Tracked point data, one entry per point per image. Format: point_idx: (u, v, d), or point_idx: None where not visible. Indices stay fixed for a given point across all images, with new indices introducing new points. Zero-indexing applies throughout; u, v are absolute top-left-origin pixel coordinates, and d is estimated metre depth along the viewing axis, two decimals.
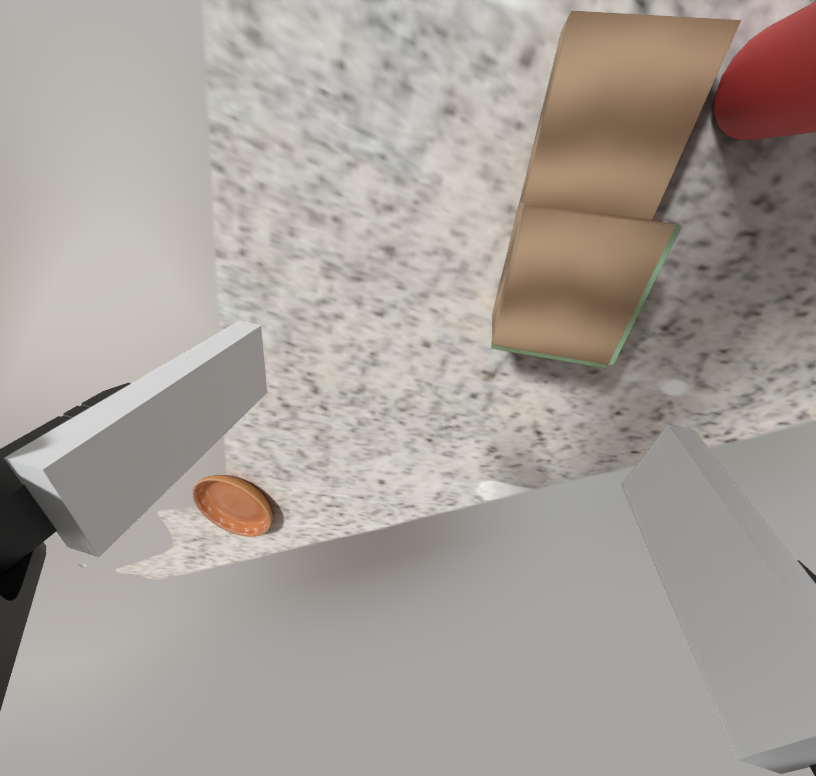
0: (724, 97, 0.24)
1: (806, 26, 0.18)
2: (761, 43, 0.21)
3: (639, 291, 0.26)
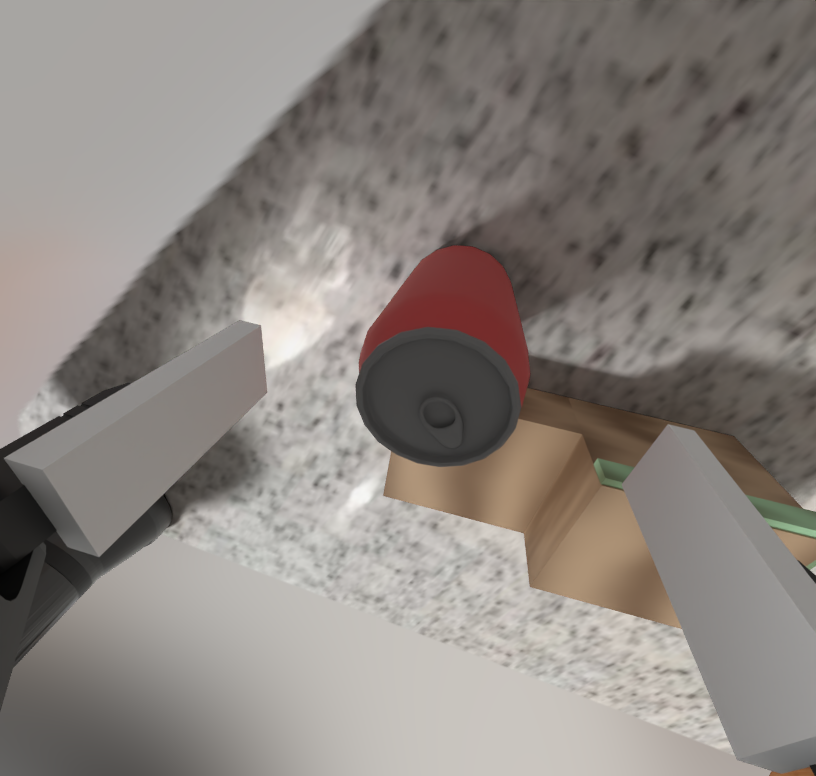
0: None
1: None
2: None
3: None
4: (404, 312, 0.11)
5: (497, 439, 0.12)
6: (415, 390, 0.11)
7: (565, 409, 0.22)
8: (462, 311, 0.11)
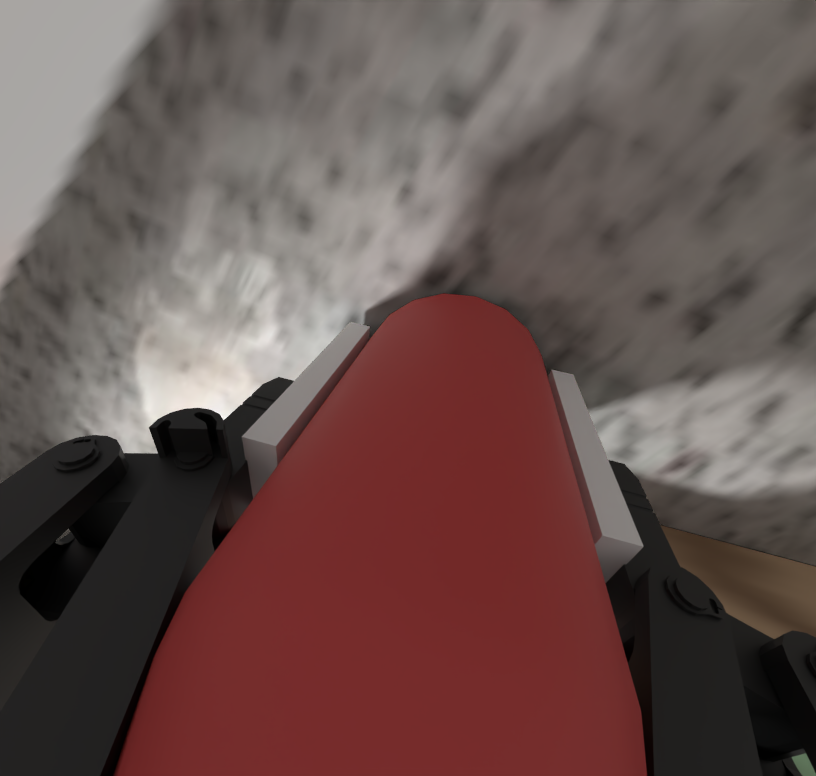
0: None
1: None
2: None
3: None
4: (215, 675, 0.03)
5: None
6: None
7: None
8: (423, 729, 0.03)
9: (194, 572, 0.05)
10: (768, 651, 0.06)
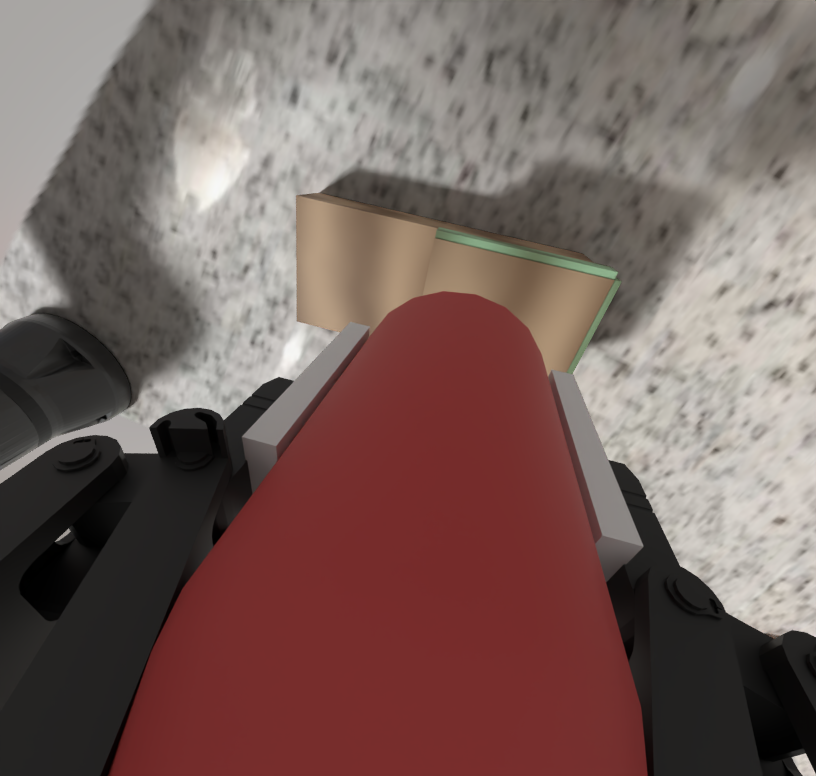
0: None
1: None
2: None
3: (506, 260, 0.21)
4: (212, 670, 0.03)
5: None
6: None
7: (438, 223, 0.26)
8: (422, 727, 0.03)
9: None
10: (769, 651, 0.05)
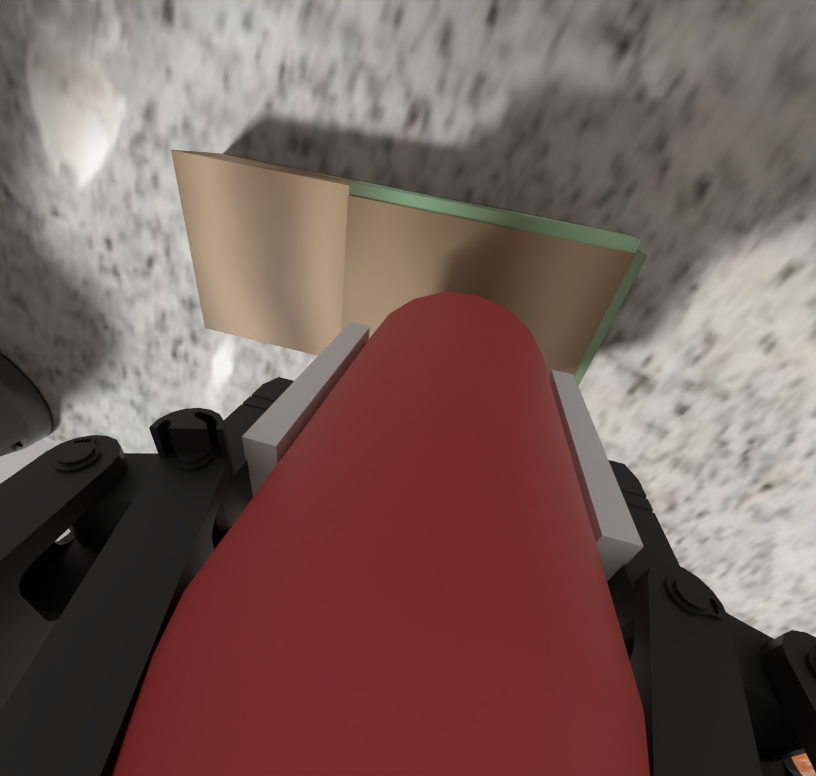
0: None
1: None
2: None
3: (461, 226, 0.13)
4: (215, 674, 0.03)
5: None
6: None
7: None
8: (425, 729, 0.03)
9: (194, 572, 0.05)
10: (768, 651, 0.06)
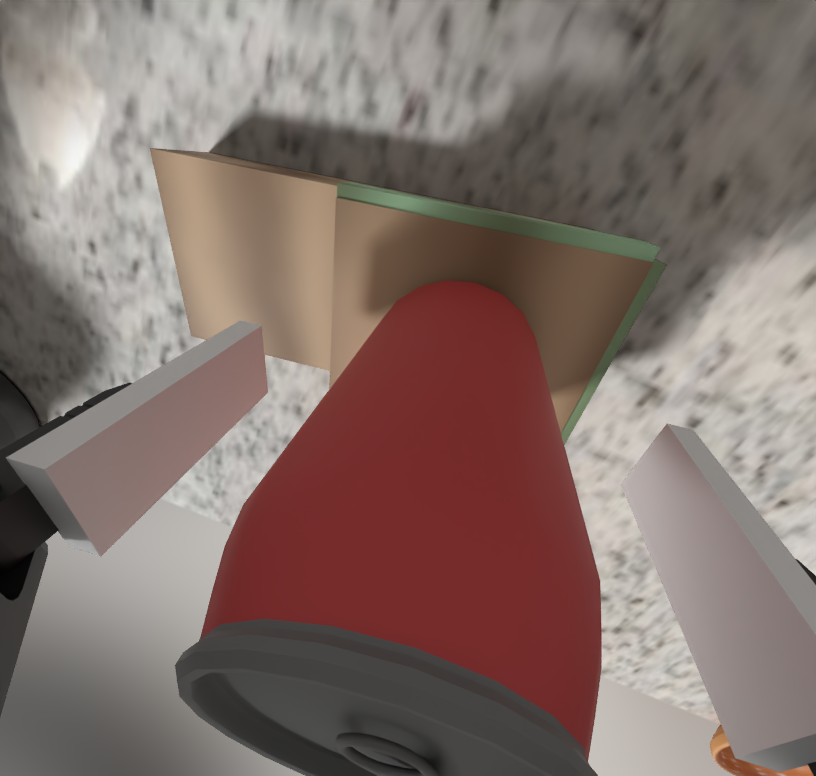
0: None
1: None
2: None
3: (461, 232, 0.12)
4: (289, 529, 0.04)
5: None
6: (324, 705, 0.05)
7: None
8: (439, 550, 0.04)
9: None
10: None
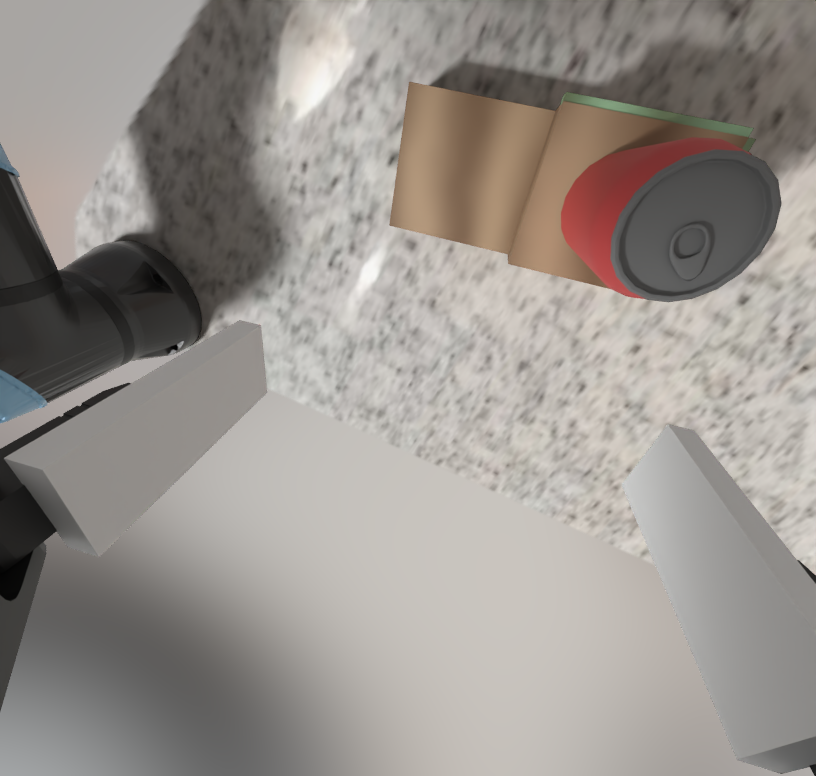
0: None
1: None
2: None
3: (636, 121, 0.21)
4: (673, 150, 0.13)
5: (738, 265, 0.14)
6: (672, 220, 0.14)
7: None
8: (731, 145, 0.13)
9: None
10: None
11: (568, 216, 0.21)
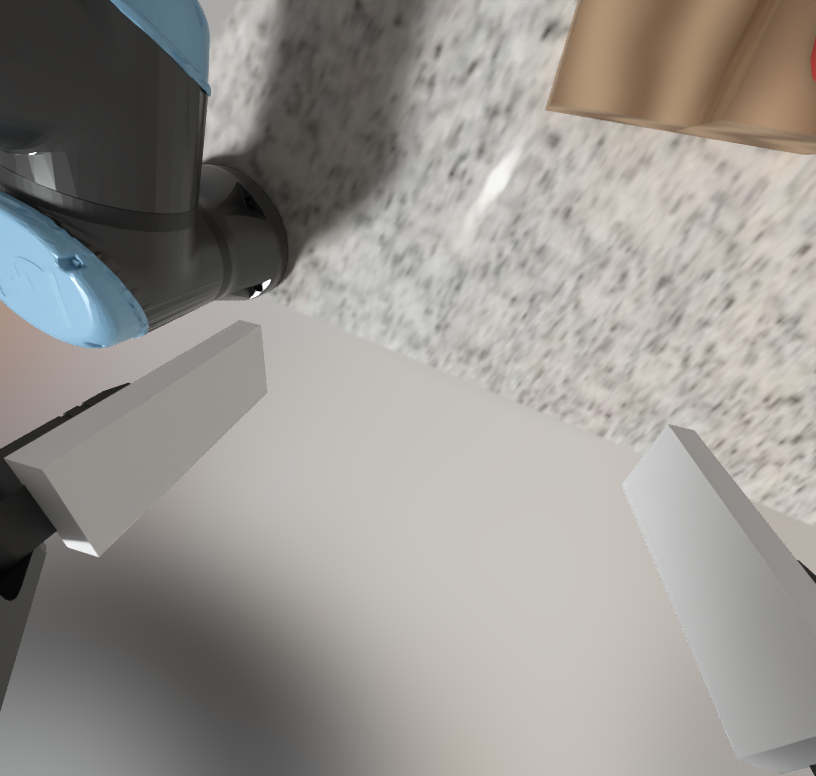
0: None
1: None
2: None
3: None
4: None
5: None
6: None
7: None
8: None
9: None
10: None
11: None
